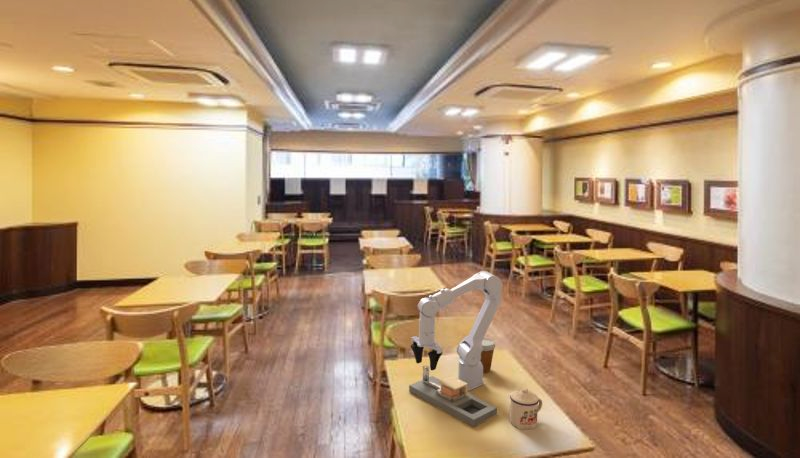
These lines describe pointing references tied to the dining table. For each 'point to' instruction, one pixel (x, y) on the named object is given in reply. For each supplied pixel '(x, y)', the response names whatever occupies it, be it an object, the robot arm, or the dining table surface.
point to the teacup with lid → (524, 408)
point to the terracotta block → (449, 391)
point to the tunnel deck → (463, 408)
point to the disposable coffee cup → (487, 354)
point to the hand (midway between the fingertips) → (425, 366)
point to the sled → (426, 380)
